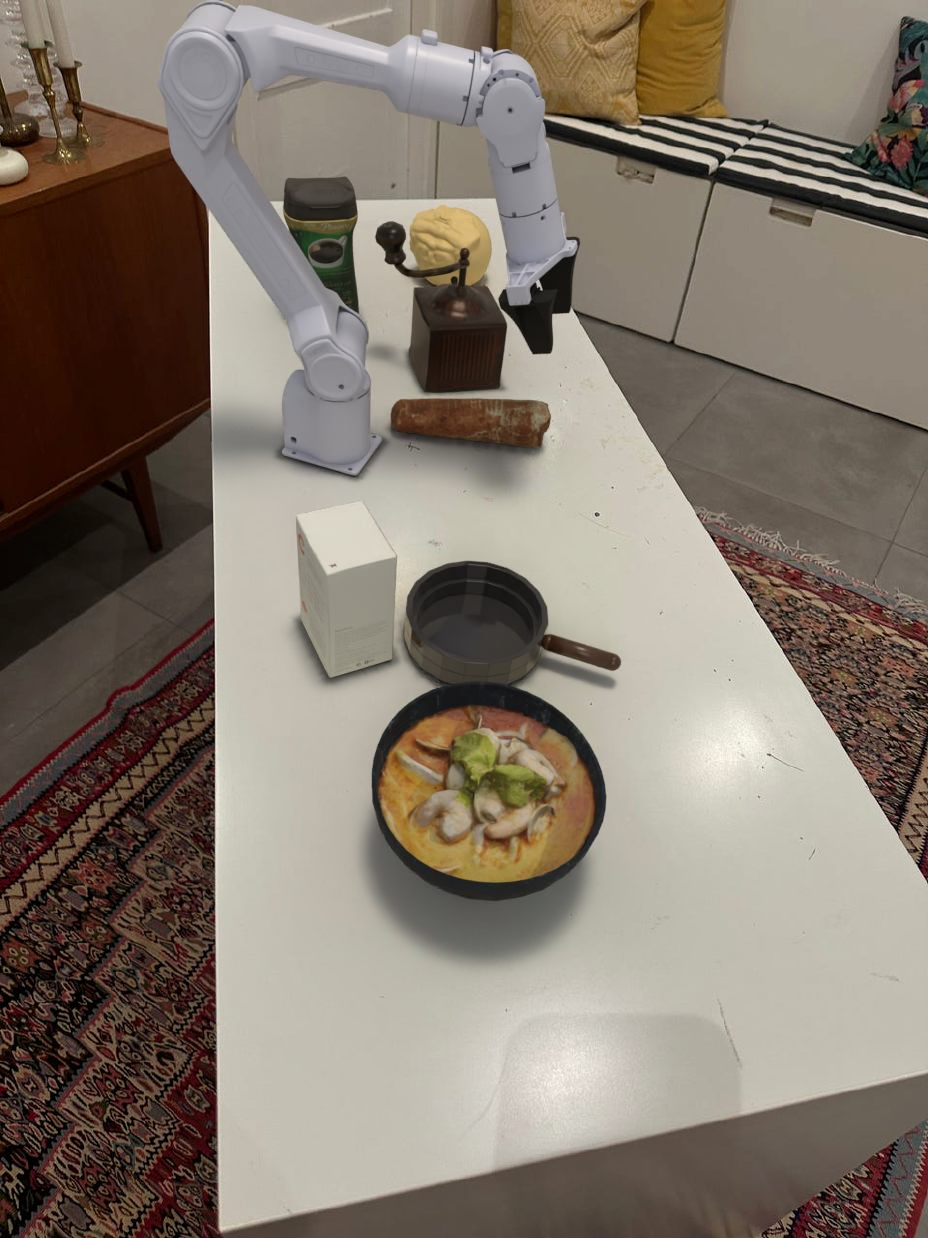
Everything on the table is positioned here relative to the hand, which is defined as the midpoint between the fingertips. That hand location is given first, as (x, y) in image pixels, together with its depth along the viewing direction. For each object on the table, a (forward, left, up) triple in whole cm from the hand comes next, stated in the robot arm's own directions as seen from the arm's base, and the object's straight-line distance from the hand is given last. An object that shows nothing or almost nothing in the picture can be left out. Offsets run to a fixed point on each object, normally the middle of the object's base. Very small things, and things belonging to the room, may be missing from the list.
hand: (551, 331), depth 92 cm
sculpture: (-24, +40, -17) cm, 50 cm away
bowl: (+10, -50, -17) cm, 54 cm away
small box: (-8, -35, -17) cm, 40 cm away
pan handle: (+13, -30, -15) cm, 36 cm away
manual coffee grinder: (-17, +14, -17) cm, 28 cm away
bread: (-8, +1, -17) cm, 19 cm away
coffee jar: (-36, +20, -17) cm, 45 cm away
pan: (+3, -30, -17) cm, 34 cm away
